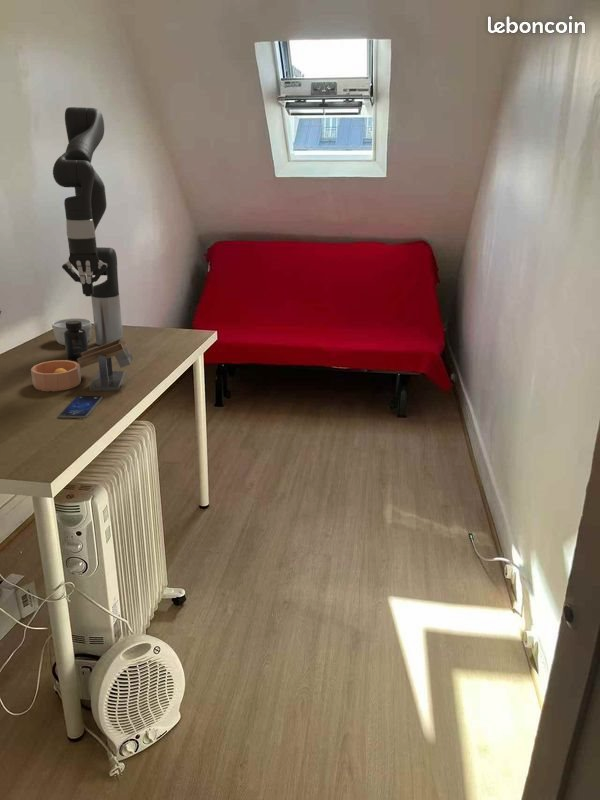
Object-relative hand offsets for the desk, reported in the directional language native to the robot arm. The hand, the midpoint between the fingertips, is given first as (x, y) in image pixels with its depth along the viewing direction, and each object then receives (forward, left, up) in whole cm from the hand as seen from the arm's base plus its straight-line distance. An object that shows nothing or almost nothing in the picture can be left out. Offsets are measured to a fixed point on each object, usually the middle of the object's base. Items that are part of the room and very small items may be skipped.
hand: (88, 295), depth 177 cm
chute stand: (+12, +5, -23) cm, 26 cm away
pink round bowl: (+12, -9, -23) cm, 27 cm away
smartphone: (+31, +1, -24) cm, 39 cm away
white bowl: (-33, -13, -24) cm, 43 cm away
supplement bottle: (-13, -8, -23) cm, 28 cm away
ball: (+12, -8, -21) cm, 25 cm away
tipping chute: (+8, +6, -19) cm, 21 cm away
